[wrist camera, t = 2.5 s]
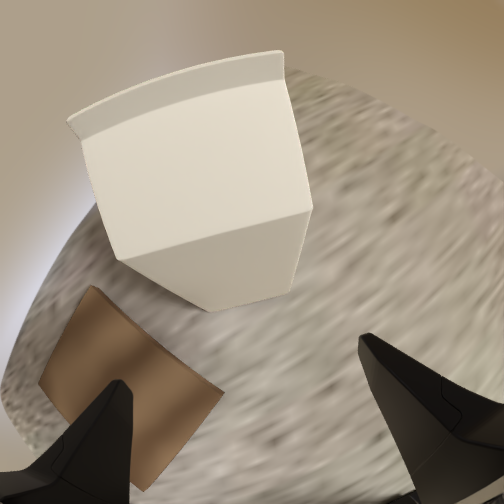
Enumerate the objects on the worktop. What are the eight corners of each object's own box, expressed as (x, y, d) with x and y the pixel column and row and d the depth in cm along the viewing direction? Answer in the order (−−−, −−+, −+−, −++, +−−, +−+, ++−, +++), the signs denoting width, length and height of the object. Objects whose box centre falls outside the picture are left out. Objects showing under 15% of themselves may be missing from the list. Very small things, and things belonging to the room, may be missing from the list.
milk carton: (289, 293, 23) (334, 124, 5) (209, 313, 23) (43, 212, 5) (268, 220, 26) (254, 17, 8) (195, 239, 25) (86, 69, 8)
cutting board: (224, 392, 21) (221, 395, 19) (149, 486, 17) (143, 492, 16) (99, 288, 24) (90, 285, 23) (46, 383, 21) (38, 383, 20)
